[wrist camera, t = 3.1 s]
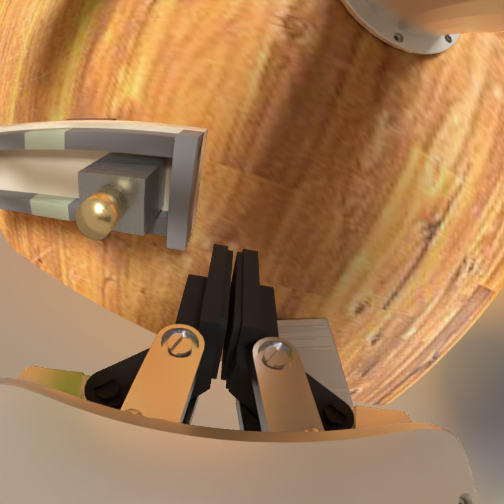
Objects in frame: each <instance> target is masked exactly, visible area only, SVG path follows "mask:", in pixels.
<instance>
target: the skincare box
mask: <svg viewBox="0 0 504 504" xmlns="http://www.w3.org/2000/svg"><path fill="white" fill-rule="evenodd" d="M277 324H278V333H279V338H282V339H285V340H286V341H288V342H290V343H291V344H292V345H293V346H294V347H295V348H296V349H297V351H298V353H299V356H300V359H301V362H302V365H303V368H304V371H305V372H306V373H308V374H309V375H310V376H311V377H313V378H314V379H315V380H317V381H318V382H319V383H321V384H322V385H323V386H324V387H326V388H327V389H328V390H330V391H331V392H332V393H334V394H335V395H336V396H338V397H339V398H340V399H342V400H343V401H345V402H346V403H347V404H348V405H349V406H350V407H353V403H352V399H351V396H350V393H349V389H348V385H347V382H346V378H345V375H344V372H343V369H342V365H341V362H340V358H339V355H338V352H337V349H336V345H335V342H334V339H333V336H332V333H331V330H330V327H329V324H328V321H327V318H320V319H294V320H277ZM353 408H354V407H353Z"/></svg>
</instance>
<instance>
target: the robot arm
mask: <svg viewBox="0 0 504 504" xmlns="http://www.w3.org/2000/svg"><path fill="white" fill-rule="evenodd" d="M340 1H341V2H342V3H343V5H344V6H345V8H346V9H347V10H348V12H349V13H350V14H351V15H352V16H353V17H354V18H355V19H356V20H357V22H358V23H359V24H361V25H362V26H363V27H364V28H365V29H366V30H368V31H369V32H370V33H371V34H373V35H374V36H376V37H377V38H379V39H380V40H381V41H383V42H385V43H387V44H389V45H391V46H393V47H394V48H397V49H400V50H403V51H405V52H409V53H414V54H436V53H441V52H443V51H446V50H448V49H449V48H451V47H452V46H453V45H454V44H455V43H456V41H457V40H458V38H459V36H460V34H463V33H481V32H504V0H340ZM394 37H395V38H396V40H395V38H394ZM232 260H233V251H230V250H228V246H222V245H216V244H214V248H213V253H212V258H211V263H210V268H209V274H208V277H203V276H196V275H190V274H189V276H188V279H187V282H186V286H185V290H184V293H183V297H182V301H181V304H180V308H179V312H178V316H177V320H176V324H172V325H169V326H166V327H164V328H163V329H161V330H160V331H159V333H158V334H157V336H156V338H155V340H154V341H153V343H152V346H151V348H149V349H147V350H145V351H142V352H140V353H138V354H136V355H134V356H132V357H129V358H128V359H125V360H123V361H121V362H118V363H116V364H114V365H112V366H110V367H107V368H105V369H103V370H101V371H98V372H96V373H95V374H93V375H92V376H86V375H84V373H82V372H73V371H65V370H57V369H49V368H43V367H36V366H34V367H28V368H26V369H24V370H23V371H22V372H21V373H20V375H19V377H18V379H14V378H0V504H478V499H477V493H476V488H475V483H474V480H473V476H472V472H471V469H470V465H469V462H468V459H467V457H466V454H465V452H464V449H463V447H462V445H461V443H460V441H459V439H458V438H457V436H456V435H455V434H454V433H453V432H451V431H450V430H448V429H446V428H444V427H441V426H437V425H432V424H427V423H412V420H411V419H410V417H409V416H408V415H407V414H405V413H404V412H401V411H395V410H386V409H377V408H370V407H364V406H357V405H356V406H355V407H354V408H353V407H350V406H349V405H348V404H347V403H346V402H345V401H343V400H342V399H340V398H339V397H338V396H336V395H335V394H334V393H332V392H331V391H330V390H328V389H327V388H326V387H324V386H323V385H322V384H321V383H319V382H318V381H317V380H315V379H314V378H313V377H311V376H310V375H309V374H308V373H306V372H305V371H304V368H303V365H302V362H301V359H300V356H299V353H298V351H297V349H296V348H295V347H294V346H293V345H292V344H291V343H290V342H288V341H286V340H285V339H282V338H279V333H278V324H277V314H276V305H275V297H274V289H273V287H268V286H261V285H260V282H259V264H258V251H253V250H247V249H243V252H237V256H236V261H235V266H234V271H233V276H232V281H231V272H232ZM230 284H231V286H230ZM222 349H223V356H222V371H221V379H222V380H226V388H227V389H229V392H230V393H231V394H232V395H233V396H234V397H235V398H236V408H237V414H238V420H239V427H240V430H229V429H219V428H210V427H202V426H194V425H191V421H192V418H193V414H194V411H195V408H196V405H197V401H198V396H199V395H200V394H202V393H203V392H205V391H207V390H208V389H210V384H211V379H212V378H213V379H216V378H217V373H218V368H219V363H220V358H221V353H222Z"/></svg>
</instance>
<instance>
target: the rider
mask: <svg viewBox="0 0 504 504" xmlns="http://www.w3.org/2000/svg"><path fill="white" fill-rule="evenodd" d="M167 160H168V158H162V157H153V156H143V155H133V154H121V153H109V154H107V155H105V156H103V157H102V158H100V159H98V160H97V161H95V162H93V163H92V164H90V165H88V166H87V167H85V168H83V169H82V170H80V171H79V172H78V189H79V203H80V205H79V207H78V208H77V210H76V214H75V220H76V224H77V226H78V228H79V230H80V231H81V232H82V233H83V234H84V235H85V236H86V237H88V238H90V239H92V240H101V239H104V238H105V237H106V236H107V235H108V234H109V233H110V231H117V232H123V233H129V234H135V235H141V236H144V235H145V233H146V232H147V230H148V229H149V227H150V226H151V224H152V223H153V221H154V219H155V218H156V216H157V215H158V213H159V212H160V210H161V209H162V207H163V206H164V196H165V182H166V170H167Z"/></svg>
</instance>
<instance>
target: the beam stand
mask: <svg viewBox="0 0 504 504" xmlns="http://www.w3.org/2000/svg"><path fill="white" fill-rule="evenodd" d="M207 132H208V128H201V127H193V126H184V125H175V124H165V123H153V122H138V121H117V120H115V119H67V120H64V121H44V122H31V123H20V124H11V125H3V126H0V209H4V210H10V211H16V212H22V213H28V214H32V215H37V216H43V217H49V218H55V219H61V220H67V221H76V220H75V214H76V210H77V208H78V207H79V205H80V203H79V189H78V172H79V171H80V170H82V169H83V168H85V167H87V166H88V165H90V164H92V163H93V162H95V161H97V160H98V159H100V158H102V157H103V156H105V155H107V154H109V153H121V154H133V155H143V156H153V157H162V158H168V160H167V170H166V182H165V196H164V206H163V207H162V209H161V210H160V212H159V213H158V215H157V216H156V218H155V219H154V221H153V223H152V224H151V226H150V227H149V229H148V230H147V232H146V233H148V234H154V235H160V236H166V237H167V248H171V249H177V250H183V251H185V250H186V247H187V244H188V242H189V239H190V236H191V233H192V231H193V228H194V226H195V219H196V210H197V202H198V194H199V186H200V179H201V171H202V164H203V158H204V151H205V144H206V138H207Z"/></svg>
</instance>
